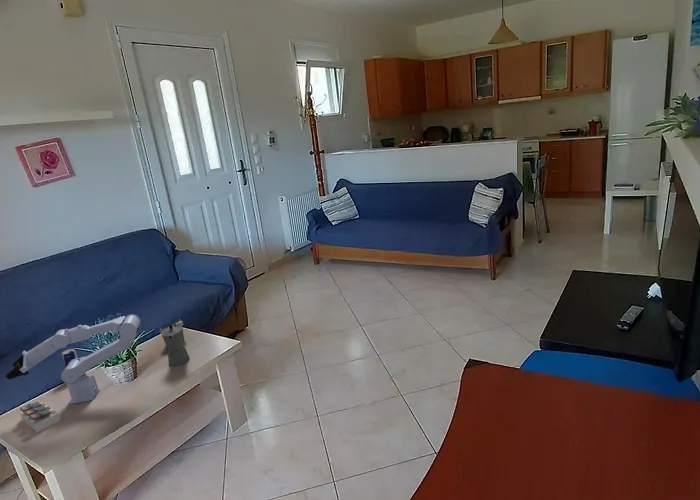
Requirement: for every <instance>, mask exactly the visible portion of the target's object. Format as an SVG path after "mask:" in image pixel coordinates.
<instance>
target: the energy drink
mask: <svg viewBox="0 0 700 500" xmlns="http://www.w3.org/2000/svg"><path fill="white" fill-rule="evenodd" d="M61 357H62V360H63V362H64V366H65V368H66V367H67V366H68V364H69V362H70V361H71V360H73V359H78V355H77V351H76V350H75V349H74V348H68V349H65V350H63V351H62V352H61Z"/></svg>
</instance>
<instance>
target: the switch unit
mask: <svg viewBox="0 0 700 500" xmlns="http://www.w3.org/2000/svg"><path fill="white" fill-rule="evenodd" d="M39 403H40V404H41V406H44V407H45V408H46V410H47V409H48V410H49V411H51V413H52V414H50V415H47V416H45V417H44V418H39V419H36V420H32V419H31V418H30V417H29V416H27V415H26V414H25V412H24V413H23V412H22V411H20V412H19V415H20V417H21V418H20V419H21V420H22V421H23V422H24V423H26V424H27V425H28V426H29V427H31V428H32V430H33V431H34V432H36V433H39V432H41V431H43V430H45V429H47V428H48V427H50V426H53V425H54V424H56V423H58V422H59V421H61V417H60V413H59V412H57V411H56V410H55V409H54V408H52V407H51V406H49V405H48V404H46V403H45V402H44V401H41V402H39Z"/></svg>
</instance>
